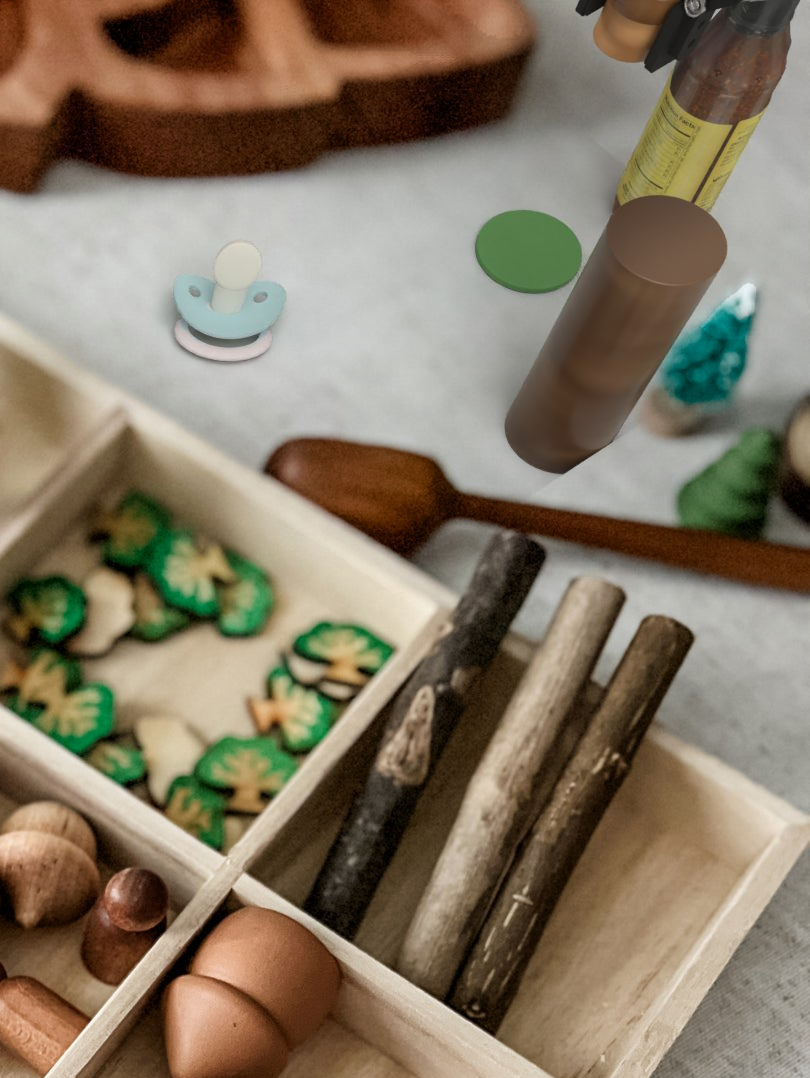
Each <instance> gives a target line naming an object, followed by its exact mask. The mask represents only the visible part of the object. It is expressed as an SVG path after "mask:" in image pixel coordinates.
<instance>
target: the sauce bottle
mask: <svg viewBox="0 0 810 1078" xmlns="http://www.w3.org/2000/svg"><path fill="white" fill-rule="evenodd" d="M800 1H801V0H762V1H752V2H750V1H744V2H740V3H738V4H736V5H732V6H728V7H724V8H720V9H719V10H718V11H717V13H716V14H714V15H713V16H712V18H711V20H710V22H709V24H708V26H707V28H706V30H705V31H704V33H703V35H702V37H701V39H700V41H699V43H698V44H697V46H696V48H695V49H694V50H693V51H692V52H691V53H690V54H689V55H688V56H687V57H685V58H684V59H682V60H680V61H676V60H675V64H674V66H673V68H672V70H671V72H670V74H669V76H668V79H667V80H666V82H665V85H664V87H663V89H662V92H661V94H660V95H659V98H658V100H657V102H656V104H655V106H654V109H653V110H652V113H651V114H650V116H649V118H648V121H647V123H646V125H645V127H644V129H643V131H642V134H641V135H640V137H639V139H638V141H637V144H636V146H635V148H634V149H633V152H632V153H631V156H630V158H629V160H628V162H627V164H626V167H625V168H624V170H623V172H622V175H621V177H620V179H619V181H618V184H617V189H616V190H617V191H616V194H615V197H614V200H613V208H612V213H614V212H615V211H616V210H617V209H618V208H619V207H620V206H622V205H623V204H624V203H626V202H628V201H630V200H633V199H635V198H639V197H643V196H649V195H666V196H672V197H677V198H681V199H684V200H686V201H689V202H691V203H693V204H696V205H697V206H699V207H701V208H702V209H704V210H705V211H707V212H708V213H709V214H710V212H711V211H712V209H713V207H714V206H715V203H716V202H717V200H718V198H719V196H720V195H721V193H722V191H723V189H724V187H725V185H726V183H727V182H728V180H729V178H730V176H731V175H732V173H733V171H734V169H735V167H736V165H737V163H738V162H739V159H740V158H741V156H742V154H743V152H744V150H745V149H746V147H747V145H748V143H749V141H750V139H751V137H752V136H753V135H754V132H755V131H756V128H757V127H758V125H759V123H760V121H761V120H762V118H763V116H764V114H765V112H766V110H767V108H768V107H769V105H770V102H771V100H772V97H773V93H774V91H775V90H776V88H777V86H778V85H779V83H780V81H781V79H783V75H784V73H785V71H786V69H787V63H788V54H789V52H790V49H791V45H792V37H791V36H792V35H791V22H792V20H793V19H794V16H795V13H796V9H797V8H798V6H799V5H800Z"/></svg>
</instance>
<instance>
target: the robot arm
mask: <svg viewBox="0 0 810 1078" xmlns="http://www.w3.org/2000/svg"><path fill="white" fill-rule="evenodd" d="M606 1H607V0H578V2H577V4H576V6H575V8H574V9H575V10H574V11H575V12H576V13H577V14H578V15H579V16H581V17H584V16H585V17H588V16H590V15H592V14H593V13H595V12H598V10H600V9H603V7H604V5H605V3H606ZM744 1H750V2H752V1H762V0H683V1H681V2H679V3H678V4H676V5H674V6H673V7H672V8H671V10H670V11H669V13H668V15H667V17H666V19H665V21H664V23H663V25H662V27H661V29H660V31H659V33H658V35H657V37H656V39H655V41H654V43H653V45H652V47H651V49H650V51H649V53H648V55H647V57H646V59H645V61H643V65H644V66H643V68H644V69H645V70H646V71H648V72H649V74H653V73H655V72H657V71H658V70H660V69H662V68H664V67H666V66H667V65H668V64H670V63H672V62H673V61H675V62H676V61H680V60H682V59H684V58H685V57H687V56H688V55H689V54H690V53H691V52H692V51H693V50H694V49H695V48H696V46H697V44H698V43H699V41H700V39H701V37H702V35H703V33H704V31H705V30H706V28H707V26H708V24H709V22H710V21H711V19H712V18H713V17H714V15H715V13H716V10H721V9H722V8H724V7H728V6H732V5H736V4H738V3H740V2H744Z"/></svg>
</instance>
